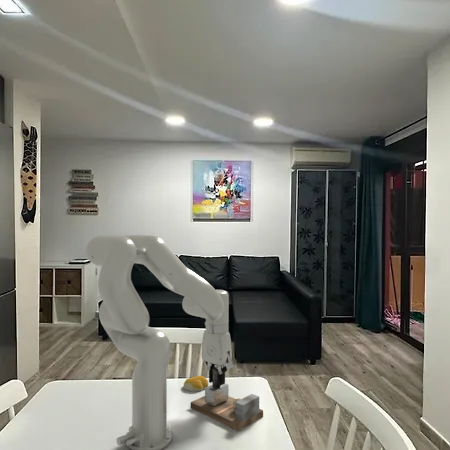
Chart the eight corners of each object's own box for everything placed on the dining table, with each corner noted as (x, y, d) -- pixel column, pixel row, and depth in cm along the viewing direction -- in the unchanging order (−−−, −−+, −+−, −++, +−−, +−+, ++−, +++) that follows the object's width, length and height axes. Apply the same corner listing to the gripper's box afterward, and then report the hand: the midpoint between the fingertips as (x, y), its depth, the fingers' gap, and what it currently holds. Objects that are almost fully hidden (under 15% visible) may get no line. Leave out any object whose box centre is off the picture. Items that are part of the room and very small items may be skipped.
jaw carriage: (213, 406, 128) (213, 372, 128) (205, 402, 131) (205, 369, 131) (228, 399, 133) (228, 366, 133) (219, 395, 136) (219, 363, 136)
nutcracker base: (238, 431, 118) (238, 407, 118) (190, 408, 132) (190, 387, 132) (263, 416, 127) (263, 394, 127) (215, 396, 141) (215, 376, 141)
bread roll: (212, 386, 150) (212, 376, 150) (194, 394, 143) (194, 383, 143) (197, 380, 155) (197, 370, 155) (179, 387, 149) (179, 377, 149)
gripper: (191, 325, 135) (191, 379, 135) (228, 335, 124) (227, 394, 124) (207, 321, 140) (207, 373, 140) (243, 330, 129) (243, 386, 129)
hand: (216, 382), depth 132 cm, fingers closed on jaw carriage, 3 cm apart
